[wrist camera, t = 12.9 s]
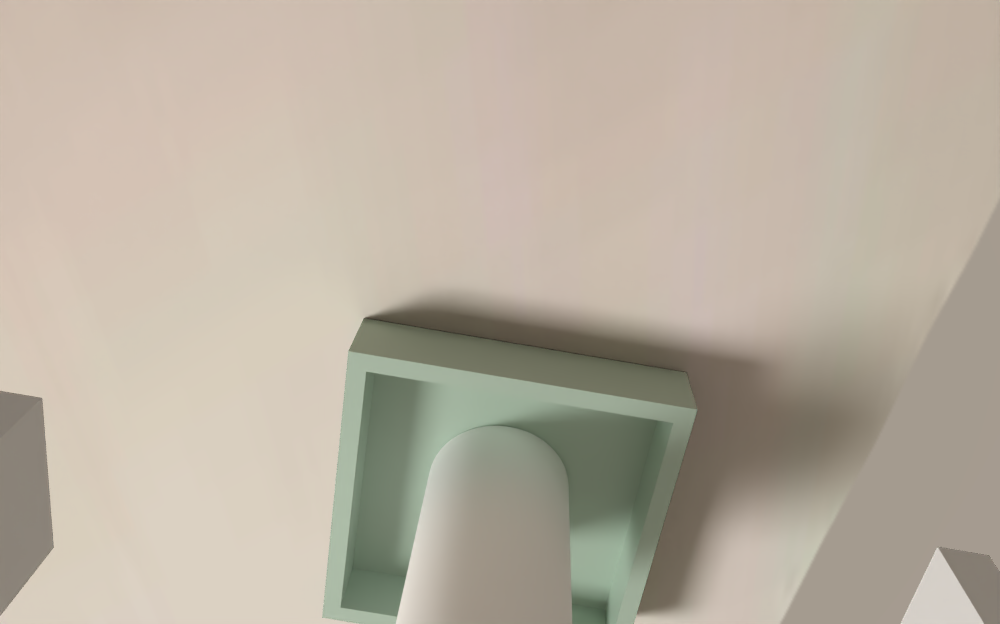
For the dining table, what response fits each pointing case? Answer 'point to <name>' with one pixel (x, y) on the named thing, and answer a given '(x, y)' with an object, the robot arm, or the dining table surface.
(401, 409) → the bin
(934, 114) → the dining table surface
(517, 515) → the cup
